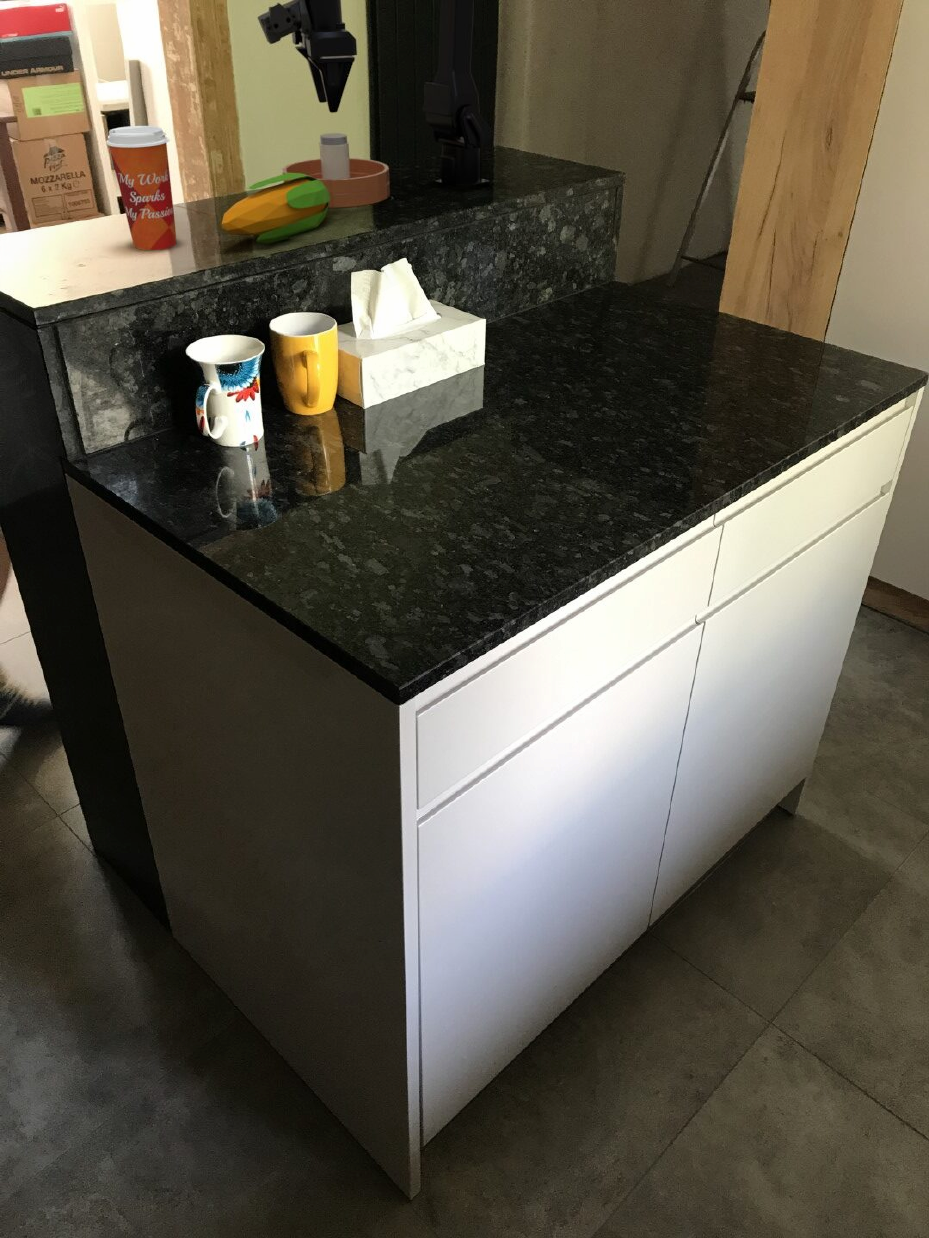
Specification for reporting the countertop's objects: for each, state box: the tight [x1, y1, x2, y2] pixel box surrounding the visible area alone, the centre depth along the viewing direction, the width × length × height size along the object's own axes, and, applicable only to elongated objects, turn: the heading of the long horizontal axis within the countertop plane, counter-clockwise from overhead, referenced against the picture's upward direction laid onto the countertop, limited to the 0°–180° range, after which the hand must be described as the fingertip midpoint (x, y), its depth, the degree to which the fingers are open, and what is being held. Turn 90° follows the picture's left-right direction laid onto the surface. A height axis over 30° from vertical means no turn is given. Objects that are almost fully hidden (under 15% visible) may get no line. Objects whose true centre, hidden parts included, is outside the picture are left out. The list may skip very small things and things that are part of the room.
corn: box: [221, 173, 330, 244], centre depth 135 cm, size 7×8×20 cm
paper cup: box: [105, 125, 177, 251], centre depth 130 cm, size 8×8×14 cm
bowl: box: [281, 157, 391, 209], centre depth 154 cm, size 16×16×4 cm
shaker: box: [318, 132, 351, 179], centre depth 152 cm, size 4×4×8 cm
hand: (328, 107), depth 143 cm, fingers open, 9 cm apart
